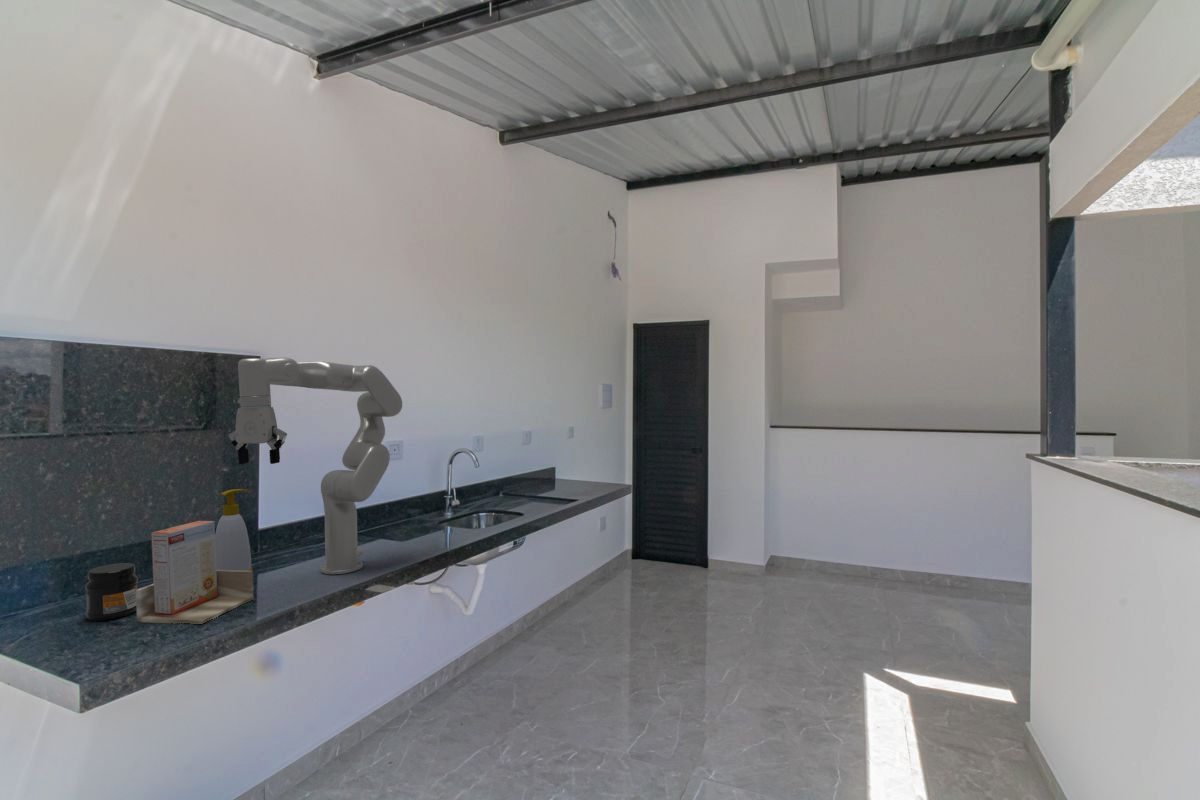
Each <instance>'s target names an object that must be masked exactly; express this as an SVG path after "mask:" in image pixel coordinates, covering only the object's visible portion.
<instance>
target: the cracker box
mask: <svg viewBox="0 0 1200 800" xmlns="http://www.w3.org/2000/svg"><path fill="white" fill-rule="evenodd" d="M215 526H216V525H215V521H214V520H197V521H192V522H188V523H185V524H180V525H177V526H176V525H175V526H172V527H167V528H164V529H161V530H157V531H156V530H155V531H153V532H151V533H150V536H151V558H152V559H151V561H152V578H153V583H152V584H153V585H154V608H155V613H156V614H170V615H173V614H175V613H178V612H180V611H183V610H185V609H188V608H190V607H192V606H195V605H197V604H200V603H202V602H205V601H207V600H210V599H212V598H215V597H217V574H216V546H215V533H216V529H215V528H216V527H215Z"/></svg>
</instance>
